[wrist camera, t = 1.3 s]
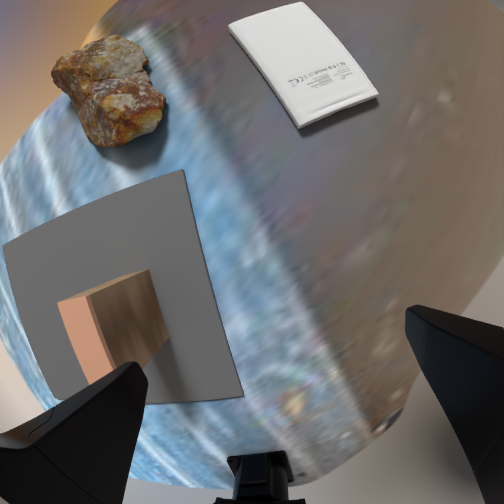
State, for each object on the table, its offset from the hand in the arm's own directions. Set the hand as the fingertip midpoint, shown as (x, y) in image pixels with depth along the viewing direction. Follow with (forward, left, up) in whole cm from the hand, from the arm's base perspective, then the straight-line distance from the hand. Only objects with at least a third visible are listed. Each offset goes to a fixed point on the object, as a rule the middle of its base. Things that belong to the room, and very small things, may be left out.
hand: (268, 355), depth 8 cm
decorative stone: (+20, +10, -14) cm, 26 cm away
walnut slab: (-1, +10, -13) cm, 17 cm away
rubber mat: (-1, +17, -14) cm, 22 cm away
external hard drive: (+18, -8, -15) cm, 24 cm away
